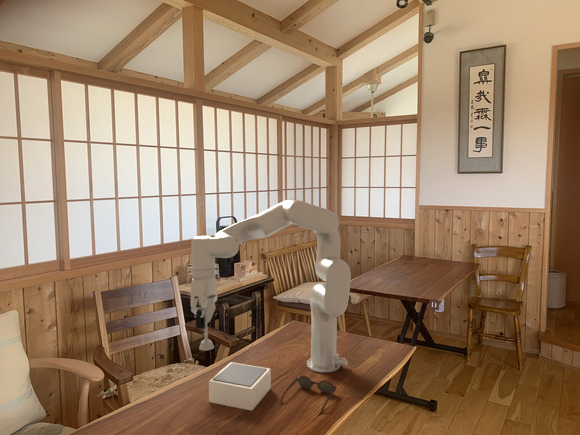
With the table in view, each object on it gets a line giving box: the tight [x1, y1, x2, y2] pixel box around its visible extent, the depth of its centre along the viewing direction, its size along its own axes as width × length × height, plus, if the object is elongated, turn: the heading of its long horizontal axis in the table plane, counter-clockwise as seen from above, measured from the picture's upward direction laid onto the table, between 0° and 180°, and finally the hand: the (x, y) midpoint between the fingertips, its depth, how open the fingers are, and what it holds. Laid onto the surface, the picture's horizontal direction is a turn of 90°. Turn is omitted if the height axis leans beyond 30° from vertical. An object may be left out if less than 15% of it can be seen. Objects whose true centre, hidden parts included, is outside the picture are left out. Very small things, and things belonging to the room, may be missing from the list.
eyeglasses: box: [279, 375, 337, 416], centre depth 143 cm, size 15×15×5 cm
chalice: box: [198, 295, 216, 351], centre depth 151 cm, size 7×7×18 cm
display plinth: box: [208, 361, 272, 411], centre depth 146 cm, size 15×15×7 cm
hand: (205, 324), depth 151 cm, fingers closed on chalice, 6 cm apart
